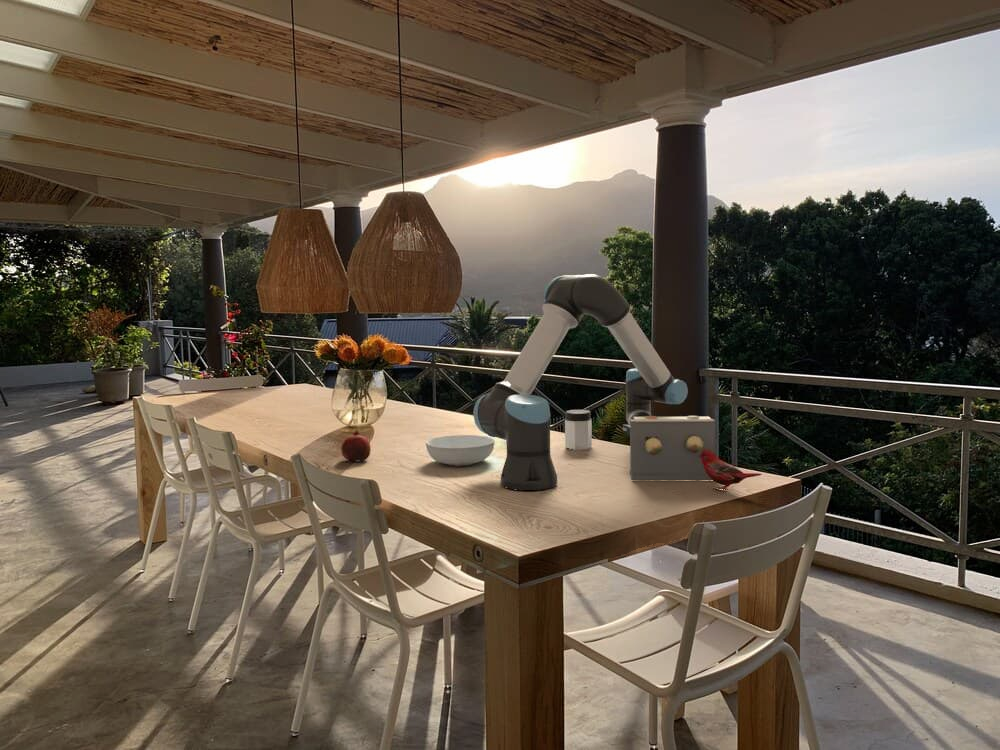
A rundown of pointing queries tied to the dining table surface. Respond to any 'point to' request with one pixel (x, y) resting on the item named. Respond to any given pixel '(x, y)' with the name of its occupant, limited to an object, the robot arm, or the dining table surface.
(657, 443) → the brass knob
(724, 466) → the decorative bird figurine
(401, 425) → the dining table surface
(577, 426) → the jar
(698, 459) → the console
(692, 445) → the knob
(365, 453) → the fruit
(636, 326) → the robot arm
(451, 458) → the serving bowl
